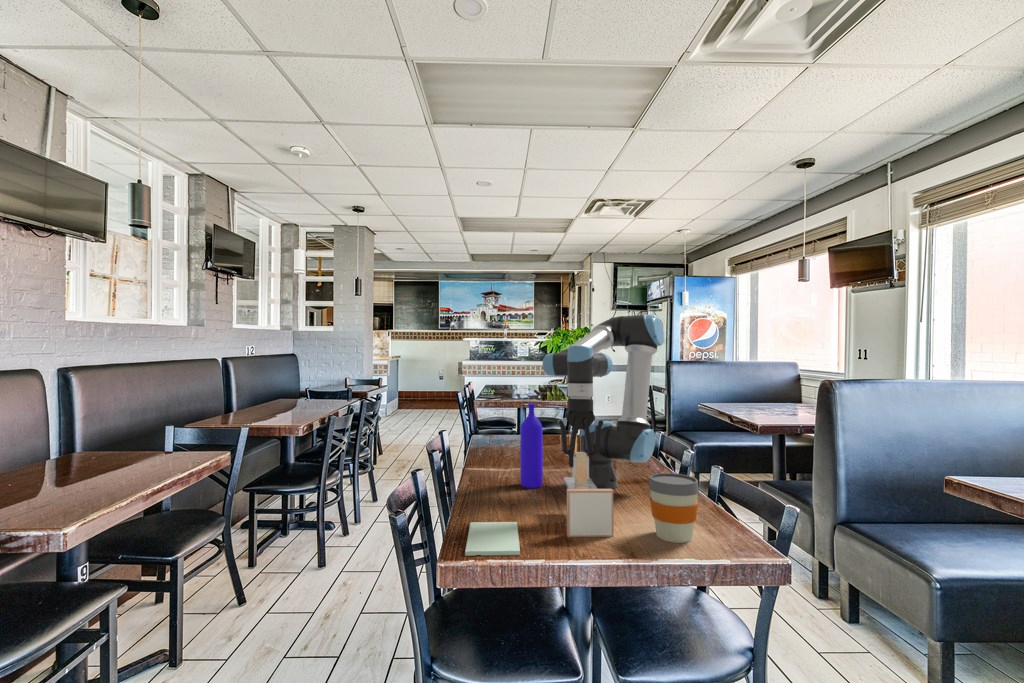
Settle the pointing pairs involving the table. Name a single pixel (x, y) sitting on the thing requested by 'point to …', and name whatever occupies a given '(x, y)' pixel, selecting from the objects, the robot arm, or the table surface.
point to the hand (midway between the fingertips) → (580, 477)
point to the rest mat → (492, 539)
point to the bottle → (531, 451)
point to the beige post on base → (580, 474)
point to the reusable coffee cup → (674, 506)
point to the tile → (590, 513)
